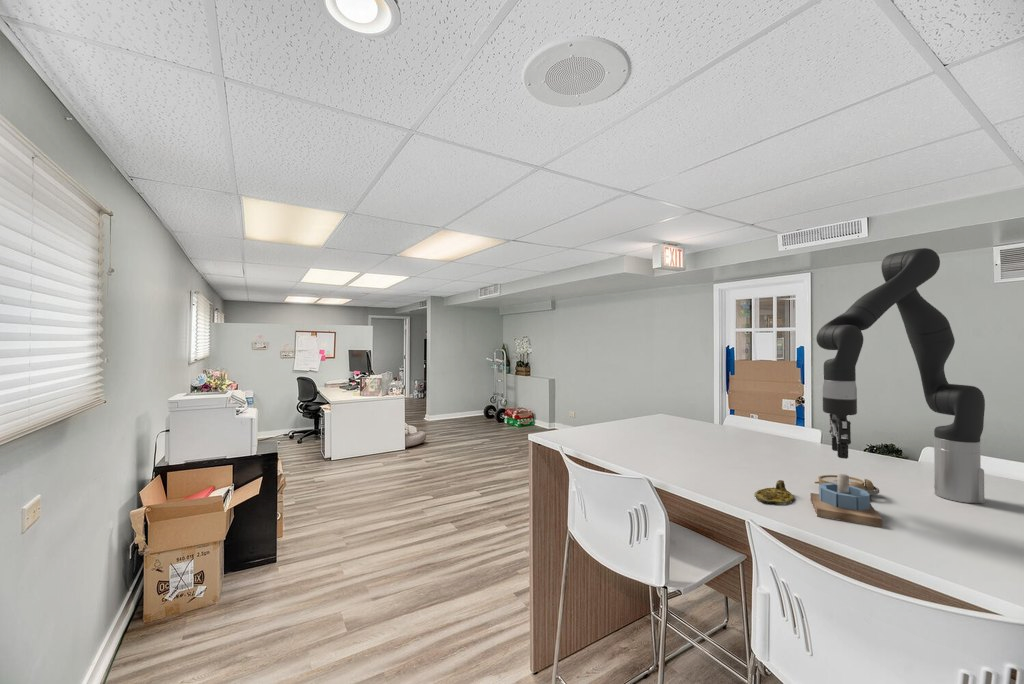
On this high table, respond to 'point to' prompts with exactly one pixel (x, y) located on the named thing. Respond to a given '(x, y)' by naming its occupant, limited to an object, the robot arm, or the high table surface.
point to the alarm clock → (851, 483)
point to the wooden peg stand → (845, 514)
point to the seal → (775, 495)
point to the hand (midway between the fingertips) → (839, 454)
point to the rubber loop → (844, 497)
